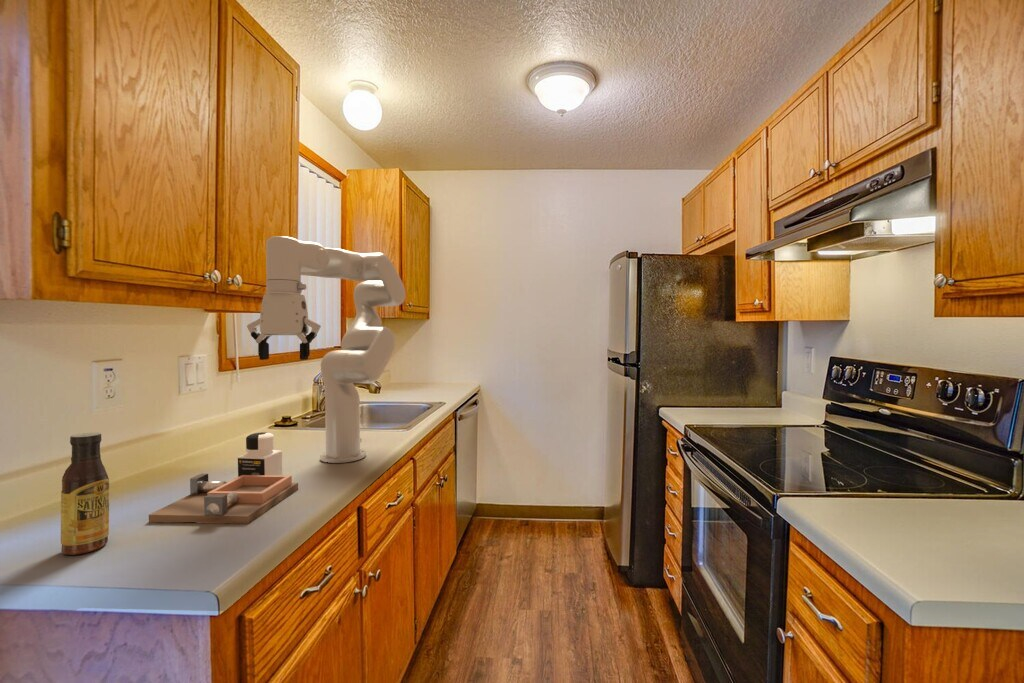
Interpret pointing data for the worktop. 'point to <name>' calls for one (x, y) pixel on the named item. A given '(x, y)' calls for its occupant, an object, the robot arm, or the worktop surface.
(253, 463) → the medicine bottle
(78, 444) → the sauce bottle
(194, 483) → the square clamping fixture
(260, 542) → the worktop surface
